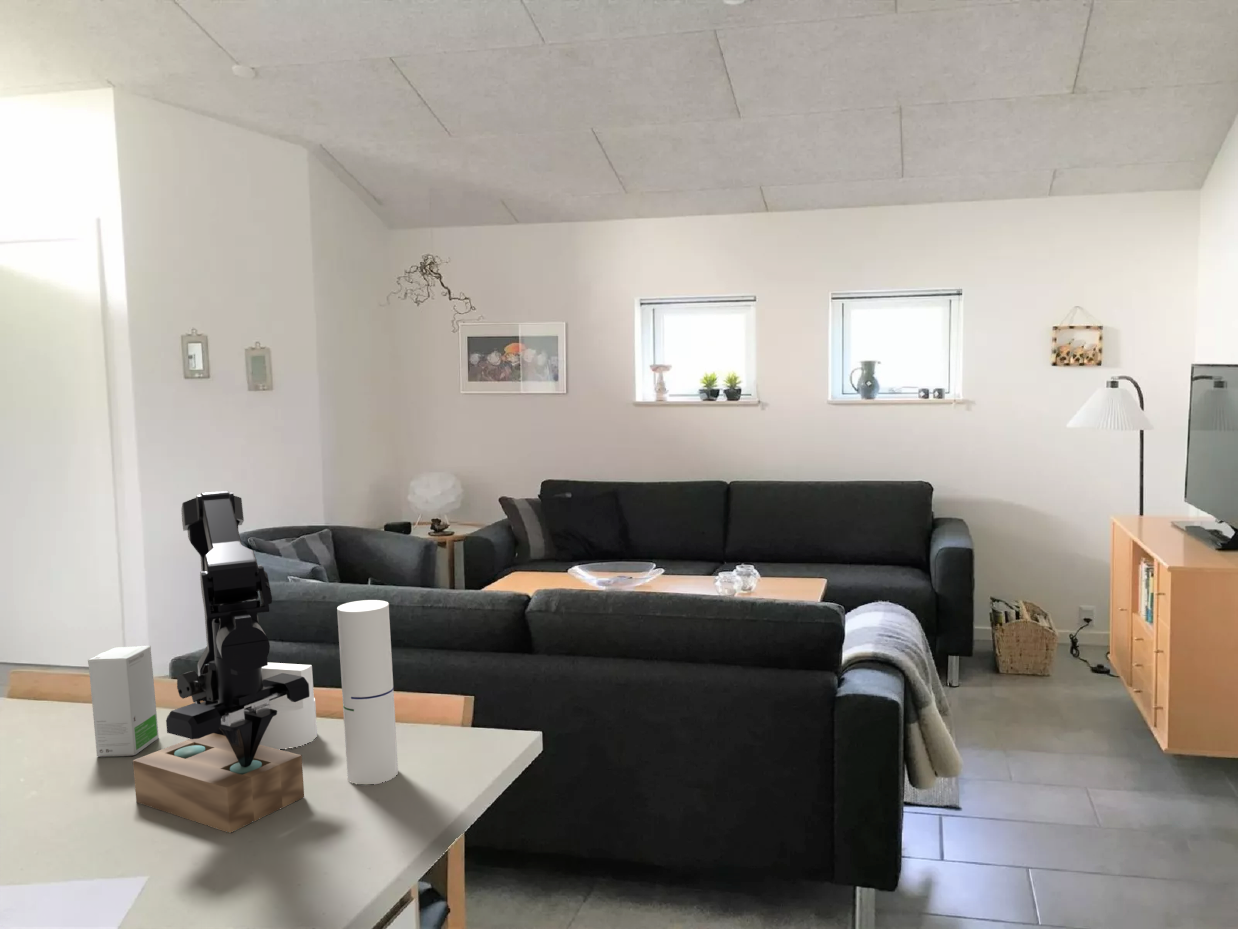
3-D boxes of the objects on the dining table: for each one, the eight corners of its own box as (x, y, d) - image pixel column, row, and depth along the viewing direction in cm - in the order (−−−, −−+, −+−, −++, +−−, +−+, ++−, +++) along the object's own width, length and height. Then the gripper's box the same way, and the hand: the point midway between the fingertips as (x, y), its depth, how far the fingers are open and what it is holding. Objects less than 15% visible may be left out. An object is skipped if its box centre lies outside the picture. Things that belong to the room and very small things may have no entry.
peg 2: (251, 798, 136) (248, 758, 136) (270, 803, 134) (268, 763, 134) (226, 809, 133) (223, 768, 133) (246, 815, 131) (243, 773, 130)
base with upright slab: (328, 731, 162) (324, 659, 161) (295, 752, 154) (290, 676, 152) (281, 727, 165) (276, 657, 164) (246, 747, 156) (241, 673, 155)
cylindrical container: (385, 786, 139) (375, 612, 137) (338, 783, 141) (327, 611, 139) (406, 766, 146) (396, 600, 144) (361, 764, 148) (351, 599, 146)
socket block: (211, 770, 147) (208, 731, 147) (304, 797, 137) (301, 755, 136) (136, 802, 137) (132, 760, 136) (230, 833, 127) (226, 787, 126)
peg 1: (196, 781, 143) (193, 743, 142) (214, 787, 141) (211, 748, 140) (171, 792, 139) (168, 753, 139) (189, 797, 137) (186, 758, 137)
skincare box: (134, 757, 154) (126, 659, 152) (92, 758, 154) (84, 660, 153) (160, 737, 162) (153, 644, 161) (120, 738, 162) (113, 645, 161)
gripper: (255, 629, 144) (262, 733, 145) (135, 663, 128) (145, 780, 129) (308, 638, 138) (315, 746, 140) (189, 675, 122) (199, 797, 124)
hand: (245, 766), depth 133 cm, fingers closed, pressing on peg 2
